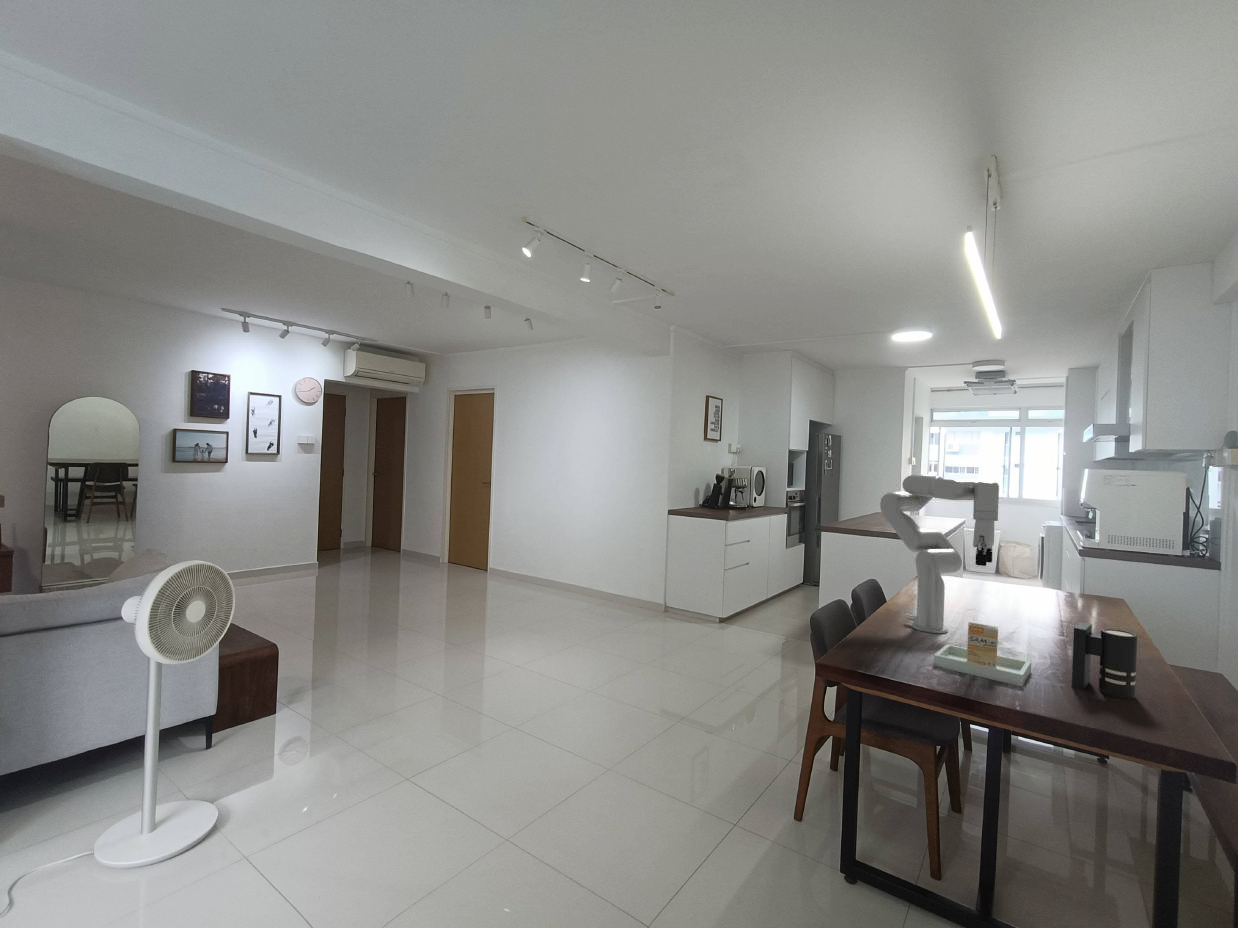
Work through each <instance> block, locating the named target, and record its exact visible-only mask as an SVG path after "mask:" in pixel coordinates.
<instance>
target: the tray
mask: <svg viewBox="0 0 1238 928" xmlns="http://www.w3.org/2000/svg"><path fill="white" fill-rule="evenodd" d="M933 666H934V667H938V668H941V669H942V668H943V669H946V670H950V671H954V672H958V673H963V674H968V675H971V676H975V677H978V678H984V679H988V680H992V681H997V682H1002V683H1005V684H1009V685H1014V686H1016V687H1018V686H1019V687H1023V686H1024V685H1025V683H1027V682H1026V681H1027V680H1028V679H1029V677H1030V675H1031V673H1032V661H1029V660H1025V659H1019V658H1015V657H1011V656H1010V657H1009V656H1005V655H1000V654H997V663H996V668H995V667H990V666H986V665H981V664H977V663H972V662H968V661H967V647H962V646H957V645H954V644H953V645H952V644H948V643H947V644H946V645H944V646H943V647H942V648H940V649H939V650H938V651H937V652H936V653H935V654H933Z"/></svg>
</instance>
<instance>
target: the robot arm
mask: <svg viewBox="0 0 1238 928" xmlns="http://www.w3.org/2000/svg"><path fill="white" fill-rule="evenodd" d="M902 489H903V490H904V491H891V492H887V493H885V494H883V496H882V497H881V498H880V502H879V508H880V512H881V514H882V517H883V518H884V520H885V521H886V522H887V524H888V525H890V527H891V528H892V529H893V530H894V531H895V533H896V534H897V535H898V537H899V538H900V540H901V541H902V542H903V543H904V545H905V546H906V548H908V550H909V551H911V552H912V553H916V557H915V568H916V575H917V576H916V577H917V585H916V586H917V588H916V591H917V592H916V593H917V594H916V596H917V597H916V614H914V615H913V614H912V615H911V614H908V613H905V615H904V617H905V619H906V620H907V621H913V622H912V623H911V627H912V628H913V629H916V630H917V631H920V632H921V631H922V632H924V633H929V634H930V633H932V634H945V633H948V632H949V628H948V626H946V625H944V624H945V623H944V619H945V617H944V616H945V588H946V587H945V582H944V579H943V578H942V575H941V574H949V573H950V574H952V573H956V572H958V571H959V570H961V568H962V565H963V560H962V558H961V555H960V553H959V552H958V550H957V549H956V548H955V546H954V545H953V544H952V543H951V541H950V540H949V539H948V538H947V537H946V536H945V535H944V534H943V533H942V532H941V531H939V530H937V529H935V528H934V529H933V528H922V527H920V526H919V525H918V524H917V522H915V520H914V519H913V518H912V517H911V516H910V515H908V514H907V513H904V512H913V513H914V512H919V511H920V510H922V509H923V508H924V507H925V506H926V505H927V504H928V503H929V502H930V501H931V500H932V499H933V498H934V499H941V500H948V501H949V500H950V501H973V514H972V515H973V517H972V519H973V520H975V521H974V530H973V541H972V546H973V547H974V548H976V550H975V565H976V566H980V567H981V566H982V567H986V566H987V563H993V546H994V545H995V526H996V525H995V522H998V521H999V499H1000V496H999V495H1000V484H999V483H998V482H996V481H987V480H986V481H983V480H977V479H946V478H943V477H941V476H940V475H939V476H937V475H933V474H910V475H908V476H906V477H905V478H904V479H903V481H902Z"/></svg>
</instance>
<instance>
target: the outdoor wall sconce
mask: <svg viewBox="0 0 1238 928" xmlns="http://www.w3.org/2000/svg"><path fill="white" fill-rule="evenodd" d="M1092 629H1093V625H1092V624H1091V623H1086V622H1082V621H1081V622H1079V623H1077V624H1076V625H1075V626H1074V627H1073V642H1072V644H1073V645H1072V646H1073V647H1072V666H1071V667H1072V670H1071V671H1072V672H1071V673H1072V674H1071V688H1074V689H1077V690H1083V691H1084V690H1085V688H1087V686H1088V685H1089V684H1090V682H1091V681H1090V680H1091V659H1092V656H1096V657H1099V671H1098V672H1099V676H1098V677H1099V679H1098V691H1099V692H1101V693H1103V694H1105V695H1107V696H1111V697H1114V698H1120V699H1126V700H1133V699H1135V698H1136V680H1137V679H1136V676H1137V674H1136V673H1137V652H1138V651H1137V650H1138V635H1137V634H1136V633H1134V632H1130V631H1126V630H1123V629H1122V630H1121V629H1115V628H1102V629H1100V634H1097V633H1093V631H1092Z"/></svg>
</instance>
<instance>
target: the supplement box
mask: <svg viewBox="0 0 1238 928" xmlns="http://www.w3.org/2000/svg"><path fill="white" fill-rule="evenodd" d="M998 637H999V627H998V626H994V625H989V624H982V623H976V622H970V621H968V625H967V647H966V648H967V661H968V662H972V663H977V664H981V665H986V666H990V667H995V668H996V663H997V655H998Z"/></svg>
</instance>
